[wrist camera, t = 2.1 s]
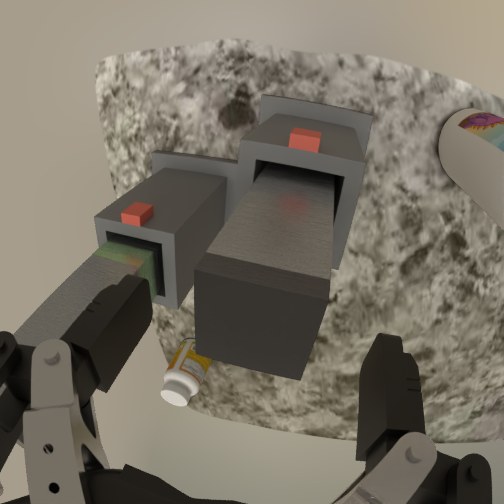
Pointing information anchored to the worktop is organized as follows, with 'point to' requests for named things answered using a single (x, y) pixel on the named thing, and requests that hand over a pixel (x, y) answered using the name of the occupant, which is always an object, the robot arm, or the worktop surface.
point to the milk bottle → (476, 158)
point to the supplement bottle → (184, 374)
